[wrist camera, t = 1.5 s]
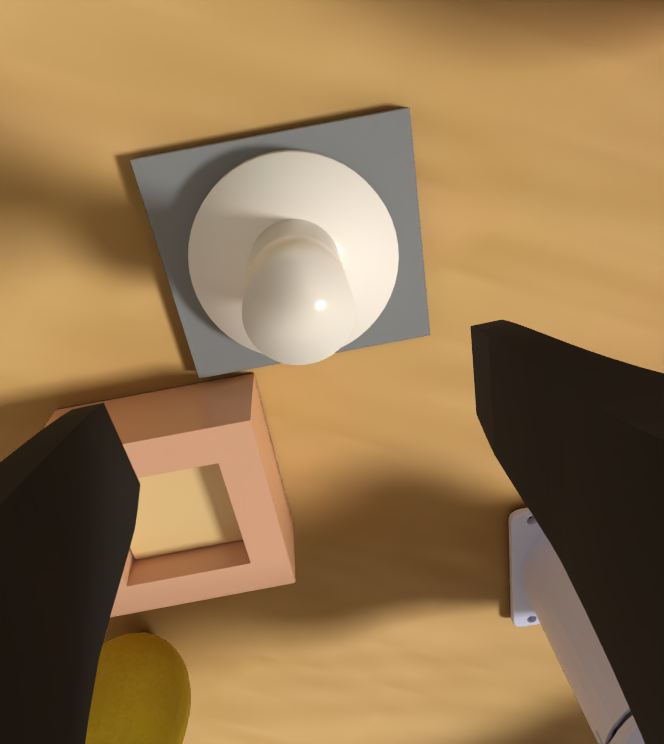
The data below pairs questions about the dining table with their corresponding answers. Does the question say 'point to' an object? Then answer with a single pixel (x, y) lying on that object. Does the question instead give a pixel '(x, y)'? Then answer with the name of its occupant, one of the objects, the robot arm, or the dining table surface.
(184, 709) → the lemon
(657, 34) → the dining table surface
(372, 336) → the mat
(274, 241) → the lid
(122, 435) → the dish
